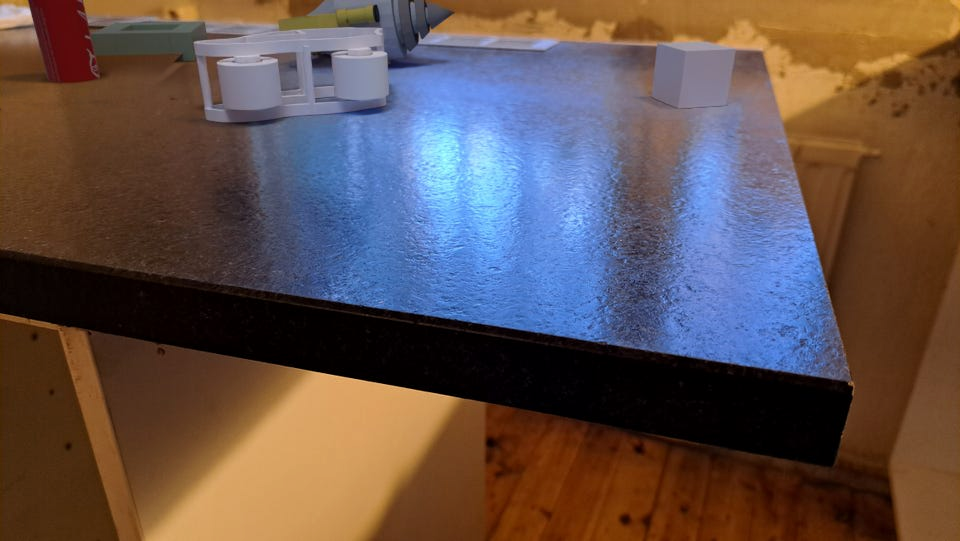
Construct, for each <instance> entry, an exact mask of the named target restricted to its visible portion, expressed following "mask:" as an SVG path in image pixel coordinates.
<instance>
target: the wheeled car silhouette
mask: <svg viewBox="0 0 960 541" xmlns="http://www.w3.org/2000/svg"><path fill="white" fill-rule="evenodd" d="M193 43H194V50H195V55H196V58H197V60H196V64H197V68H198V74H199V75H198V76H199V80H200V88H201V93H202V100H203V106H204V109H203V110H204V115H205V116H204V117H205V120H206V121H209V122H210V121H211V122H216V123H248V122H260V121H261V122H262V121H269V120H270V121H271V120H275V119H281V118H287V117H299V116H300V117H301V116H315V115H316V116H317V115H318V116H319V115H330V114H331V115H332V114H341V113H342V114H343V113H352V112H356V111H363V110H369V109H375V108H381V107H385V106H387V97H388V96H389V95H390V82H389V81H390V80H389V64H388V58H387V53H386V52H384V36H383V28H351V27H348V28H323V29H303V30H290V31H280V30H277V31H276V30H275V31H269V32H263V33H255V34H248V35H243V36H239V37H230V38H218V39H217V38H215V39H208V40H203V41H196V42H193ZM375 46H377V51H376V50H371V48H369V47H375ZM333 50H347V51H340V52H335V53H332V54H331V55H330V57H331V58H330V59H331V68H332V69H331V70H332V82H333V85H328V86H327V85H326V86H315V85H314V84H315V83H314V73H313V65H312V64H313V62H312V53H311V52H314V51H333ZM285 53H286V54H288V53H295V61H296V62H295V64H296V72H297V81H298V88H296V89H288V90H282V86H281V85H282V84H281V76H280V67H279V59H277V58H276V57H271V56H264V55H273V54H285ZM262 55H263V56H262ZM206 57H211V58H212V57H213V58H214V57H215V58H223V59H219V60H217V61H216V68H217V75H218V82H219V88H220V95H221V101H222V103H217V104H214V102H213V96H212V91H211V84H210V83H211V82H210V78H209V72H208V71H209V70H208V64H207V59H206ZM225 57H227V58H225ZM228 57H230V58H228ZM322 98H338V99H341V100H335V101H334V100H333V101H321V102H316V99H322ZM342 99H343V100H342Z"/></svg>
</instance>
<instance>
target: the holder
mask: <svg viewBox="0 0 960 541" xmlns="http://www.w3.org/2000/svg"><path fill="white" fill-rule="evenodd" d="M90 34H91V38H92V42H93V47H94V51H95V56H97V57H98V56H100V57H101V56H140V55H141V56H142V55H146V56H147V55H179V56H178V57H177V58H176V59H174V61H173V62H174V63H176V62H177V61H183V62H196V61H197V60H196V59H197V58H196V55H195V50H194V43H193V42H196V41H203V40H209V39H208V32H207V27H206V21H204V20H203V21H202V20H201V21H143V22H140V21H139V22H138V21H137V22H136V21H135V22H133V21H132V22H114V23H111V24H108V25H107V26H105V27H102V28H100V29H97V30H96V31H92V32H90ZM195 60H196V61H195Z"/></svg>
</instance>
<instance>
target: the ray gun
mask: <svg viewBox="0 0 960 541" xmlns="http://www.w3.org/2000/svg"><path fill="white" fill-rule="evenodd" d="M455 13H456V12H455V11H453V10H450V9H448V8H445V7H443V6H441V5H437V4H435V3H432V2H430V1H426V0H324V1H322V2H321V3H320V4H319V5H318V6H317V7H316V8H315V9H314V10H312V11H311V12H309V13H308V14H307V15H301V16H300V15H299V16H295V17H288V18H279V19H278V20H277V22H278V23H277V24H278V31H290V30H303V29H323V28H348V27H351V28H383V36H384V52H386V53H387V58H388V65H390V64H391V60H397V59H404V58H407V54H408V52H409V53H411V52H412V51H413V50H414V49H415V48H416V47H417V46H418V45H419V41H420V39H421V40H424V39H425V38H426V36H427V35H429V34H430V32H431V30H434V29H435V28H436V27H438V26H439V25H440V24H442V23H443V22H445V21H446V20H447V19H449V17H450V16H452V15H454V14H455ZM369 48H371V50H376V51H377V46H375V47H369ZM340 51H347V50H333V51H314V52H311V55H318V54H327V55H329V56H331V54H332V53H335V52H340Z"/></svg>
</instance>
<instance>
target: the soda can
mask: <svg viewBox="0 0 960 541" xmlns="http://www.w3.org/2000/svg"><path fill="white" fill-rule="evenodd" d="M27 4H28V7H29V12H30V15H31V19H32V24H33V27H34V31H35V35H36V39H37V42H38V46H39V50H40V54H41V58H42V62H43V65H44V66H43V67H44V70H45V74H46V77H47V81H48V82H49V83H58V84H68V83H70V84H71V83H72V84H73V83H81V82H82V83H83V82H89V81H93V80H98V79H100V77H101V74H100V70H99V69H100V68H99V66H98V61H97V57H96V56H95V51H94V47H93V42H92V38H91V29H90V25H89V21H88V16H87V12H86V7H85V3H84V0H27Z"/></svg>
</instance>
